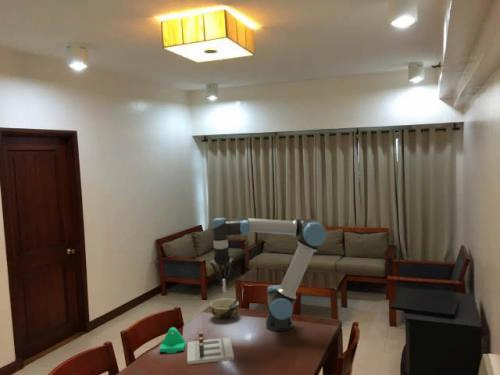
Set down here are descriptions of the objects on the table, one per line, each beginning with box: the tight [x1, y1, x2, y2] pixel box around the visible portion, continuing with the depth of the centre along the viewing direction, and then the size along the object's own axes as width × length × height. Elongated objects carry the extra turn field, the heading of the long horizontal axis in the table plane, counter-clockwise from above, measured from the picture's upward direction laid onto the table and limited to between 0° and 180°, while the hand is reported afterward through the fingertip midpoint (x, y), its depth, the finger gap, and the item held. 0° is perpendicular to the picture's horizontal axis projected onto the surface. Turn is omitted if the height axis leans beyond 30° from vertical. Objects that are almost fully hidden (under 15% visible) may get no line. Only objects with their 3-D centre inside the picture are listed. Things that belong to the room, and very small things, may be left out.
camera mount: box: [159, 326, 186, 354], centre depth 214 cm, size 12×8×10 cm, turn 92°
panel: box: [186, 337, 235, 366], centre depth 209 cm, size 22×22×2 cm
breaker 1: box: [198, 336, 204, 347], centre depth 209 cm, size 2×3×5 cm
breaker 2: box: [199, 343, 204, 356], centre depth 202 cm, size 2×3×5 cm
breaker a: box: [198, 331, 204, 338], centre depth 216 cm, size 2×3×5 cm
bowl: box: [209, 297, 240, 320], centre depth 255 cm, size 18×18×10 cm
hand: (224, 291), depth 222 cm, fingers closed
